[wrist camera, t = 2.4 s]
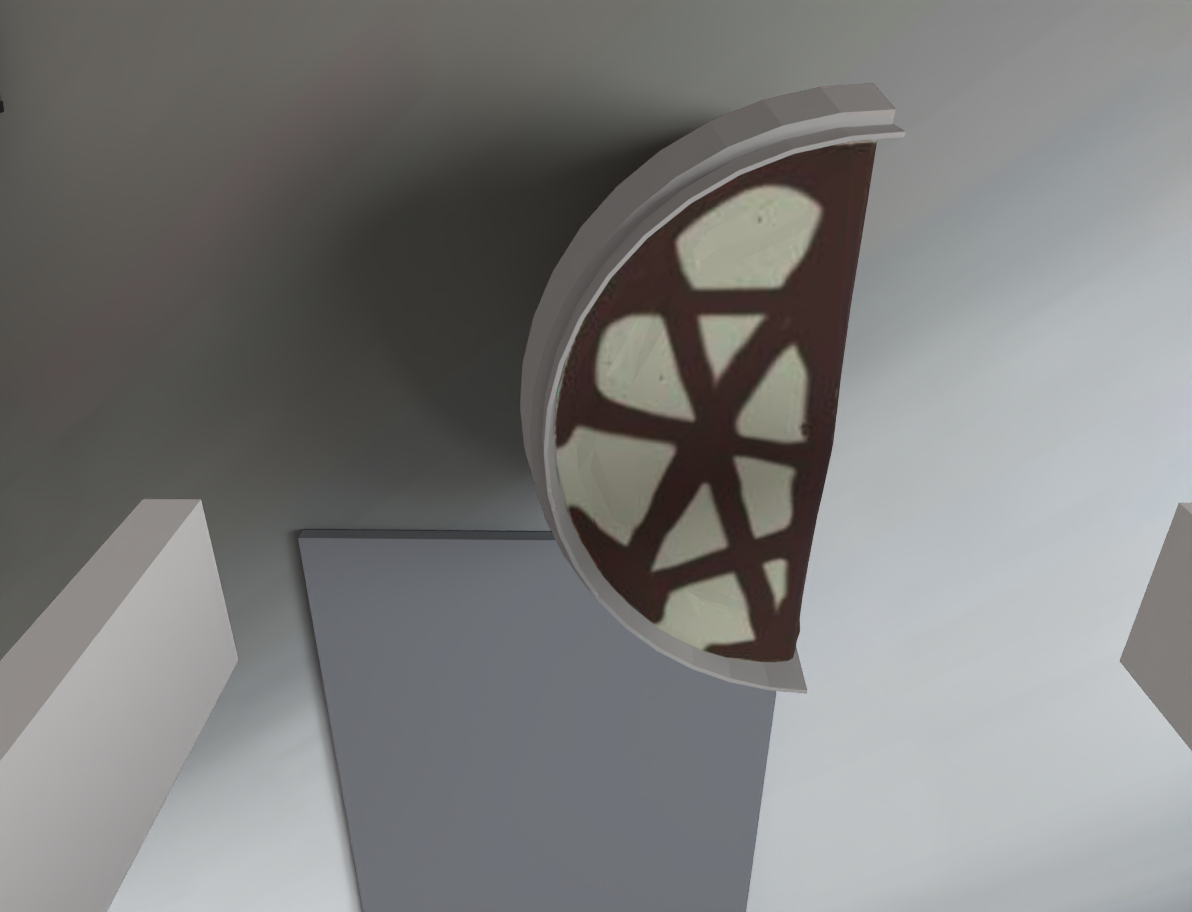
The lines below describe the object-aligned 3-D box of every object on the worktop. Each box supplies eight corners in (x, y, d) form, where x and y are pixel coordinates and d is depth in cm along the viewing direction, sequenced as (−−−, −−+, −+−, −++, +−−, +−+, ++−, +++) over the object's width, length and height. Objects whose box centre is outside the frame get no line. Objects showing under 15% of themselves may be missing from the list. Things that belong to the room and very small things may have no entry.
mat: (793, 534, 28) (796, 542, 28) (740, 925, 38) (742, 937, 37) (302, 529, 28) (297, 538, 28) (369, 923, 38) (366, 934, 37)
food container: (540, 52, 22) (502, 83, 13) (784, 57, 22) (912, 93, 13) (542, 480, 28) (517, 707, 19) (736, 485, 28) (803, 712, 19)
